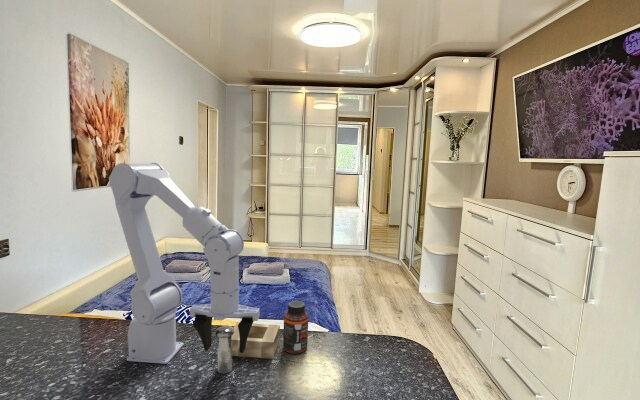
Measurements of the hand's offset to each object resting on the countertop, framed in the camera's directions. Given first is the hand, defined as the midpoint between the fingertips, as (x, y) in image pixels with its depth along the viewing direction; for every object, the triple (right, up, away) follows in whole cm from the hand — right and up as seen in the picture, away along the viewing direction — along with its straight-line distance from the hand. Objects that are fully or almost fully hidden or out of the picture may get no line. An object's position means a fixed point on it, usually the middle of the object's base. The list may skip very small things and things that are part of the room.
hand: (225, 349), depth 72 cm
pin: (0, -5, +1) cm, 5 cm away
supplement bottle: (+14, -4, +10) cm, 18 cm away
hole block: (+4, -4, +9) cm, 11 cm away
